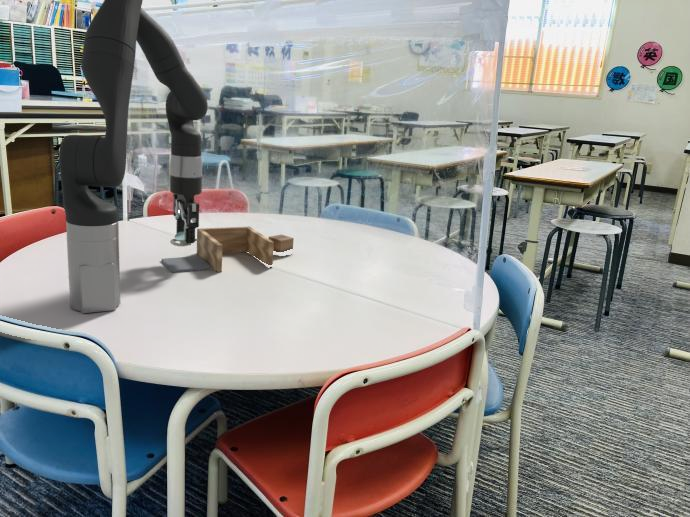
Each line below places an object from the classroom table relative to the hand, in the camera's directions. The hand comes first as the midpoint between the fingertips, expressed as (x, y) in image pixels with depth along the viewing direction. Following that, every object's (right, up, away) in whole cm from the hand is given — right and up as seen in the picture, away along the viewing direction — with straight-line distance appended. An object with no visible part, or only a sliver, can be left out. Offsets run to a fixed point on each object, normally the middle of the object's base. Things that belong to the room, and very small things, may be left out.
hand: (185, 238), depth 138 cm
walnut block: (+22, -4, +20) cm, 29 cm away
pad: (0, -7, +2) cm, 7 cm away
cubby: (+10, -5, +9) cm, 15 cm away
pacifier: (-1, -2, 0) cm, 2 cm away
